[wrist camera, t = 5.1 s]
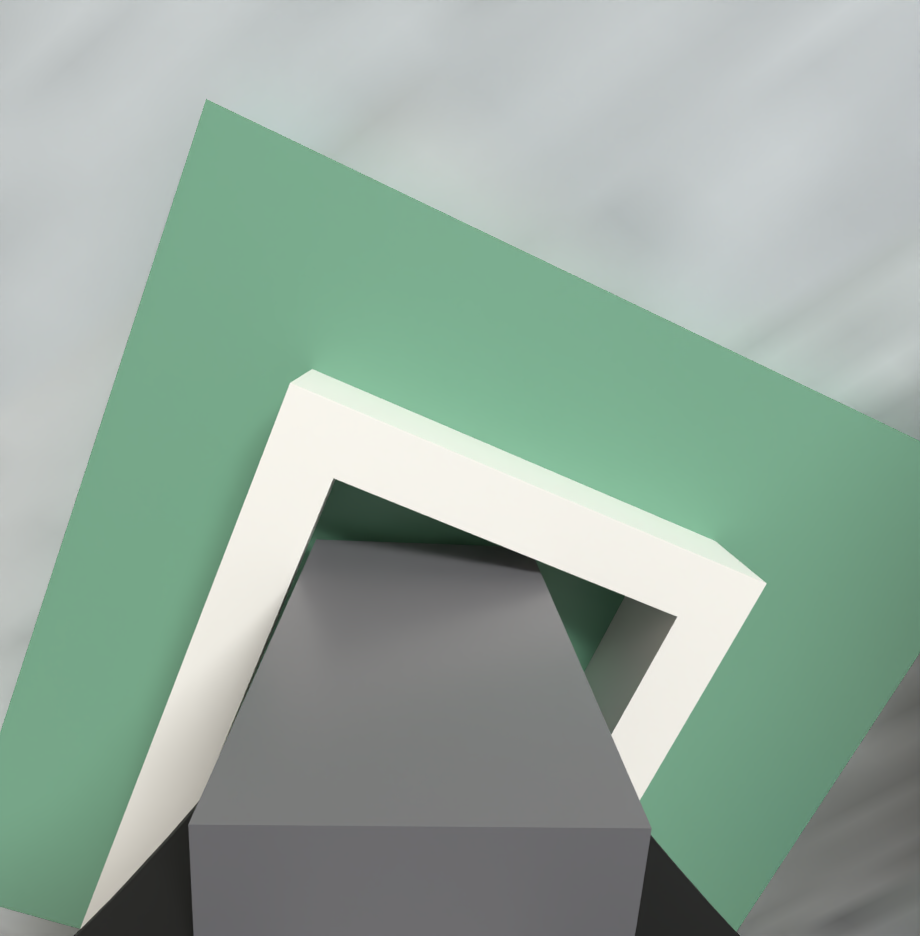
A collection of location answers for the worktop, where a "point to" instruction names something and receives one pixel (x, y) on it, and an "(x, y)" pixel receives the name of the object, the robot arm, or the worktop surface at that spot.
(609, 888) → the plug
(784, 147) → the worktop surface
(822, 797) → the header board
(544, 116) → the worktop surface
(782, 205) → the worktop surface
